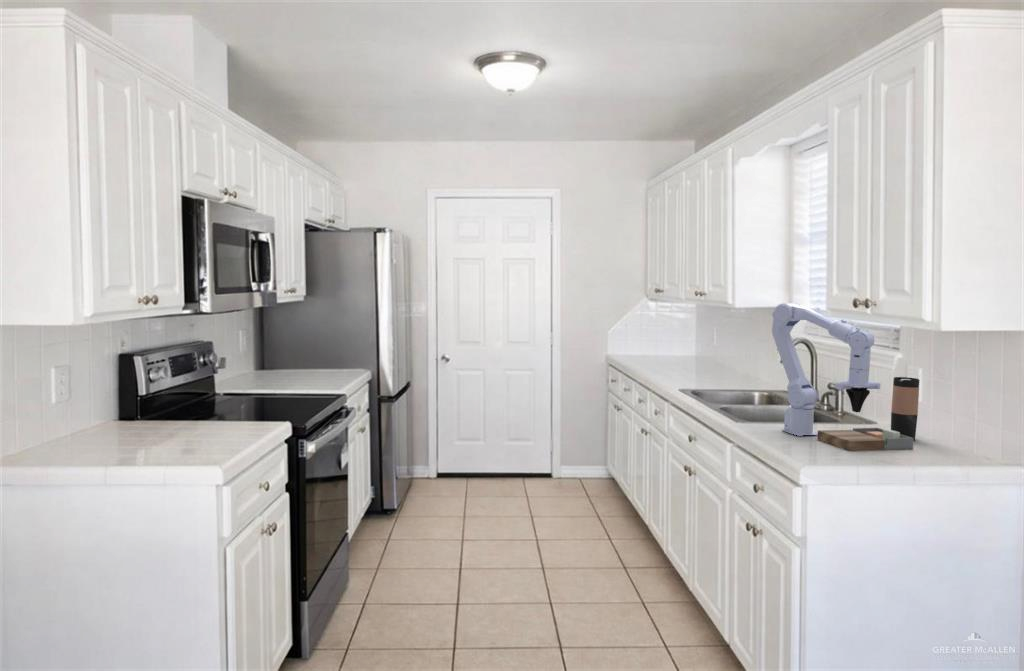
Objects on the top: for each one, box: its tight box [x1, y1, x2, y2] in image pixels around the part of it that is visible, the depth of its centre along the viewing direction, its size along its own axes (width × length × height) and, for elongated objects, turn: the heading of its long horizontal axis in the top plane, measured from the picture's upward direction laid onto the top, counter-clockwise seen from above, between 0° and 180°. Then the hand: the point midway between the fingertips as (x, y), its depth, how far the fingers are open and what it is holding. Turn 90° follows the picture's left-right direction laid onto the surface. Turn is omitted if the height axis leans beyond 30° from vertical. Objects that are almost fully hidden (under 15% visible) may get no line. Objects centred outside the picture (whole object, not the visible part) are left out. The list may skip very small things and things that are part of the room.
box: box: [852, 427, 914, 451], centre depth 233 cm, size 16×10×4 cm, turn 12°
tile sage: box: [882, 428, 900, 440], centre depth 229 cm, size 4×4×2 cm
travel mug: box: [890, 376, 920, 442], centre depth 241 cm, size 8×8×20 cm
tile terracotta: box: [866, 431, 883, 439], centre depth 236 cm, size 4×4×2 cm
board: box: [817, 429, 885, 452], centre depth 230 cm, size 16×12×3 cm
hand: (856, 411), depth 233 cm, fingers closed
